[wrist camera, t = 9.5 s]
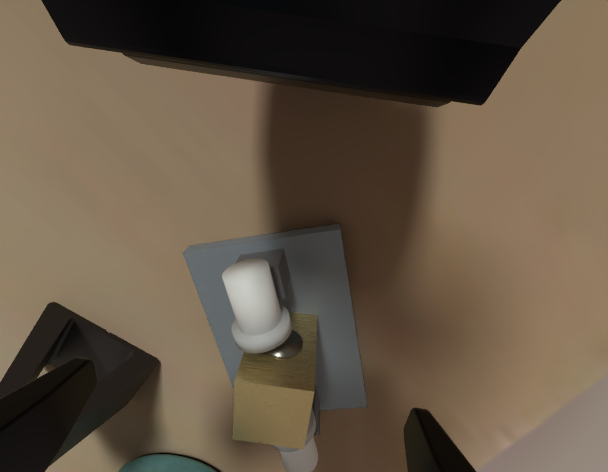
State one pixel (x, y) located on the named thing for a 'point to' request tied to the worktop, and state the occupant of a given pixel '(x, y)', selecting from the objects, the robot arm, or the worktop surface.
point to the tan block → (278, 389)
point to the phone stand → (89, 344)
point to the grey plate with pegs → (284, 312)
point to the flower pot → (165, 464)
